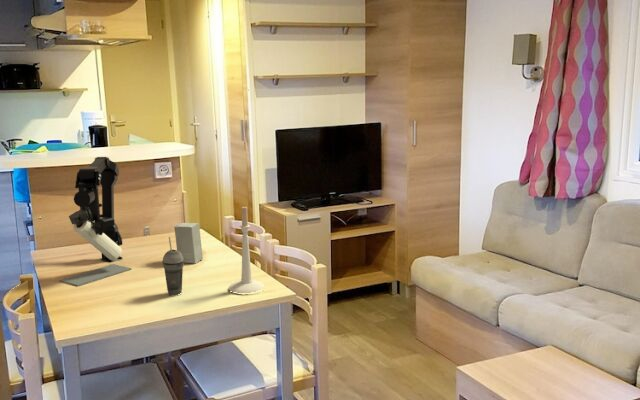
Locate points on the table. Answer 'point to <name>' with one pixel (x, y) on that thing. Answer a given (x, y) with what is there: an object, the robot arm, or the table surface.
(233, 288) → the candlestick
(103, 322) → the table surface
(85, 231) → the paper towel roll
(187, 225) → the skincare box
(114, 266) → the gray mat
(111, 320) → the table surface
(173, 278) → the beverage cup
